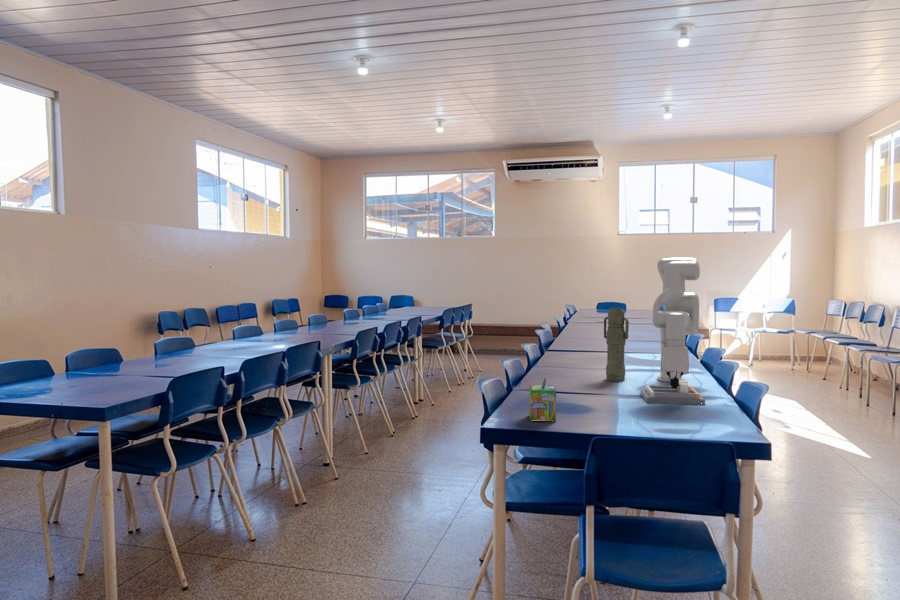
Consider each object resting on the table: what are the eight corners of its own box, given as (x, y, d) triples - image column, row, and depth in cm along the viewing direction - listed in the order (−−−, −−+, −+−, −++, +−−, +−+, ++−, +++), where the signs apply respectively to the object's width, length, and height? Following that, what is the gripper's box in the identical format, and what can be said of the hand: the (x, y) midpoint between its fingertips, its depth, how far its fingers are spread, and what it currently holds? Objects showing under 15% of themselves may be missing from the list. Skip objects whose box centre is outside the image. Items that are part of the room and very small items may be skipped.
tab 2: (680, 396, 225) (680, 384, 225) (677, 394, 229) (678, 382, 229) (688, 396, 224) (688, 384, 224) (685, 394, 229) (685, 382, 228)
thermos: (625, 382, 264) (626, 308, 262) (600, 380, 270) (601, 307, 268) (630, 379, 272) (631, 307, 270) (606, 377, 278) (606, 306, 276)
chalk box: (528, 415, 207) (528, 375, 206) (554, 415, 206) (554, 376, 205) (529, 422, 197) (529, 380, 197) (556, 422, 196) (556, 381, 196)
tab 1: (679, 393, 231) (679, 381, 230) (677, 390, 235) (677, 379, 235) (687, 393, 230) (687, 382, 230) (684, 391, 234) (685, 379, 234)
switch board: (646, 402, 225) (646, 392, 224) (640, 393, 240) (640, 384, 240) (705, 404, 221) (705, 394, 221) (694, 395, 236) (695, 386, 236)
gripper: (657, 344, 224) (656, 389, 225) (697, 344, 221) (696, 390, 222) (654, 341, 231) (653, 385, 232) (692, 342, 229) (691, 386, 230)
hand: (674, 387), depth 227 cm, fingers closed
